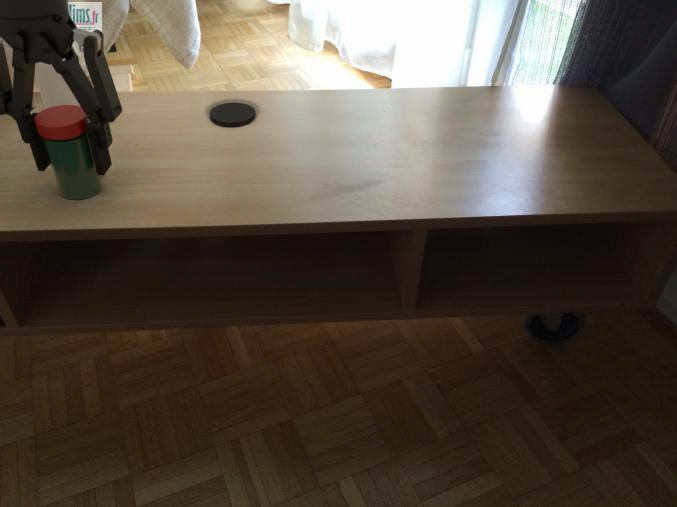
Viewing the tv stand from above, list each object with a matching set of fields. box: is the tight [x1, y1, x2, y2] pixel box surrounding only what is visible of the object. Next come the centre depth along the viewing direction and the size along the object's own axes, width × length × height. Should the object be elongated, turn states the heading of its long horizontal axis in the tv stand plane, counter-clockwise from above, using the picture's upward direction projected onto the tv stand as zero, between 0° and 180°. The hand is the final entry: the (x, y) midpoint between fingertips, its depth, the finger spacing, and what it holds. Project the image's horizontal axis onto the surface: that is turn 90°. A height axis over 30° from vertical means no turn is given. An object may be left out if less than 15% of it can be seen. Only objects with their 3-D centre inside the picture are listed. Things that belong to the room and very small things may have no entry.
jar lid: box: [34, 105, 89, 140], centre depth 73 cm, size 6×6×2 cm
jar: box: [43, 132, 103, 201], centre depth 75 cm, size 5×5×9 cm
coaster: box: [209, 101, 256, 128], centre depth 95 cm, size 7×7×1 cm
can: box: [34, 43, 90, 123], centre depth 89 cm, size 6×6×12 cm
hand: (75, 167), depth 76 cm, fingers open, 7 cm apart
